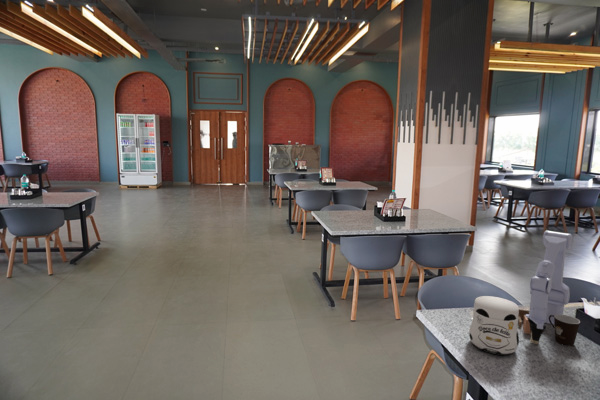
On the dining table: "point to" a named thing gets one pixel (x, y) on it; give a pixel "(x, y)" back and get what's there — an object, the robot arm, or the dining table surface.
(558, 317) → the coffee mug
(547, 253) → the robot arm
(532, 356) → the dining table surface
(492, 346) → the milk container
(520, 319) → the wooden u-shaped bracket
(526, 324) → the tethered block
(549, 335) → the dining table surface
